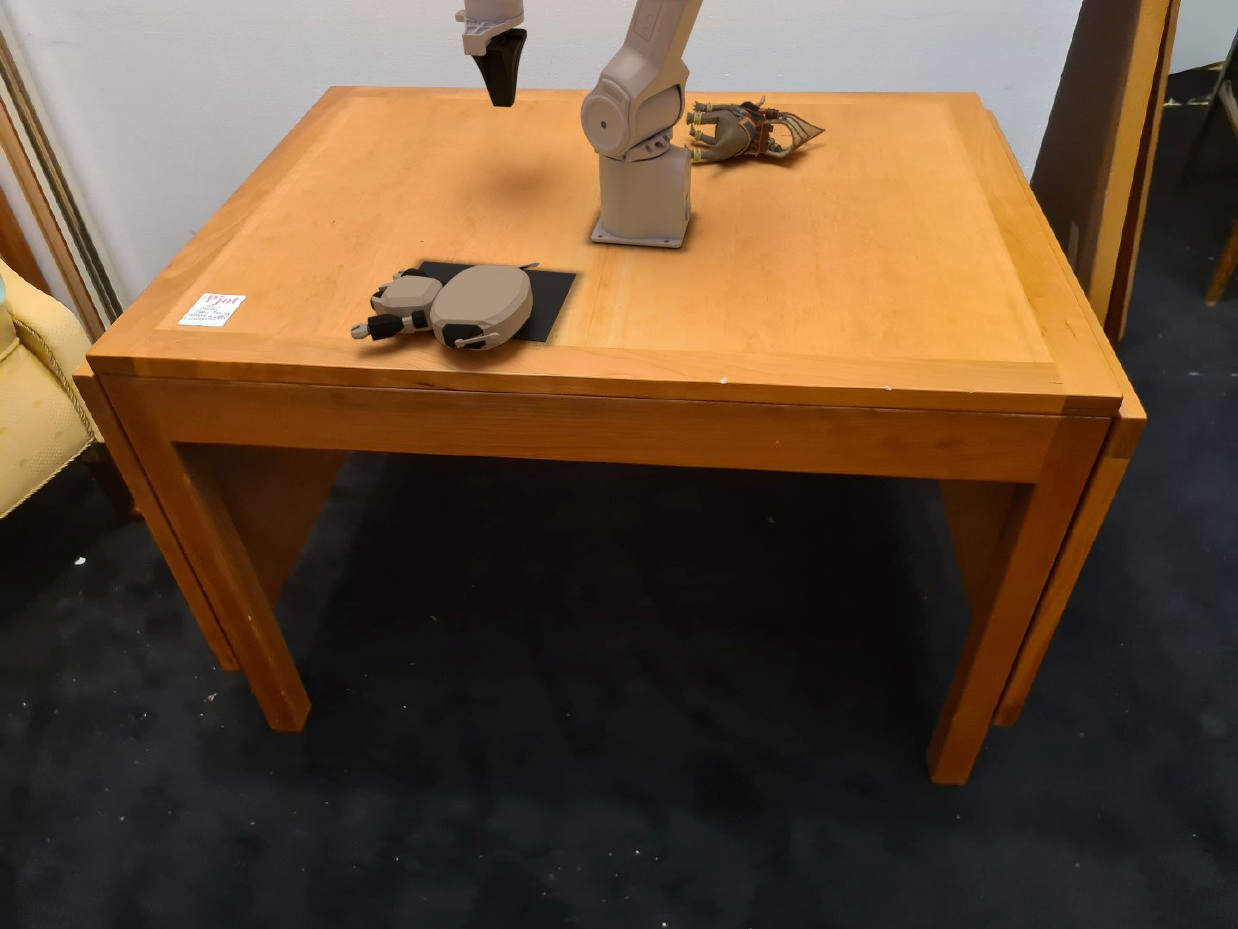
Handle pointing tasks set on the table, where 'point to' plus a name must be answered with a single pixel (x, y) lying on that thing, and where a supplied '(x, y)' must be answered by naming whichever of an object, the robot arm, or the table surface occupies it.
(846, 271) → the table surface
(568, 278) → the mat
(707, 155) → the leather gauntlet glove
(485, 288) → the robot toy
